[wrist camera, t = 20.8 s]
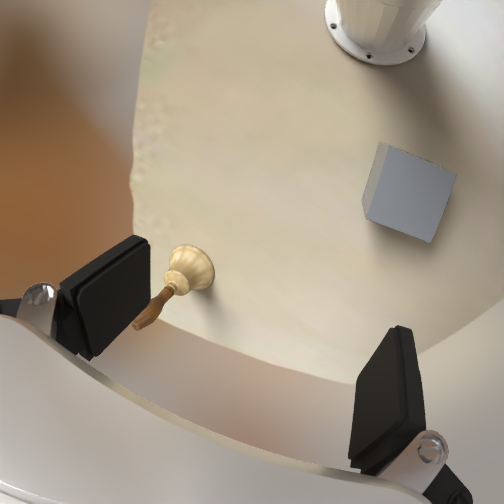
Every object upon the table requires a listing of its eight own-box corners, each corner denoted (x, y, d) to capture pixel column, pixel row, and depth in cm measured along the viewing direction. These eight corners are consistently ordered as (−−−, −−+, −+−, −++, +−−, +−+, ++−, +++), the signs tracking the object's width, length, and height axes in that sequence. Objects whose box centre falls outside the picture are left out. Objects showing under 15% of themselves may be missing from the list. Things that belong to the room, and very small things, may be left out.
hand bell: (224, 278, 46) (173, 344, 32) (190, 295, 50) (138, 354, 36) (194, 235, 44) (130, 288, 30) (162, 257, 48) (101, 307, 34)
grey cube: (379, 141, 30) (388, 145, 24) (435, 164, 29) (456, 175, 22) (361, 199, 34) (365, 218, 27) (415, 219, 33) (430, 243, 26)
